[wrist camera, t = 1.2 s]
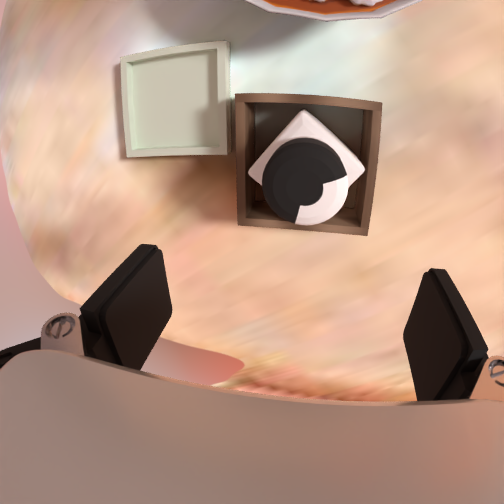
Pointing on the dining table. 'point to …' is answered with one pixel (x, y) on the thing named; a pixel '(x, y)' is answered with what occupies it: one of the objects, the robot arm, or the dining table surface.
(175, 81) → the tray
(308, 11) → the ramen bowl
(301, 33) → the dining table surface
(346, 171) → the medicine bottle
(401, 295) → the dining table surface
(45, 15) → the dining table surface
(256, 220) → the holder
